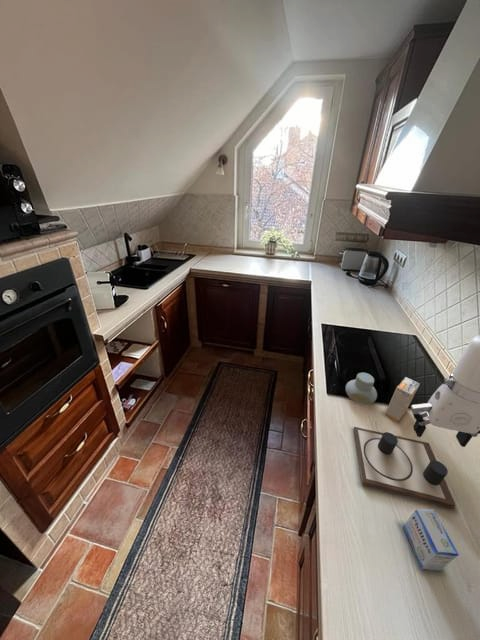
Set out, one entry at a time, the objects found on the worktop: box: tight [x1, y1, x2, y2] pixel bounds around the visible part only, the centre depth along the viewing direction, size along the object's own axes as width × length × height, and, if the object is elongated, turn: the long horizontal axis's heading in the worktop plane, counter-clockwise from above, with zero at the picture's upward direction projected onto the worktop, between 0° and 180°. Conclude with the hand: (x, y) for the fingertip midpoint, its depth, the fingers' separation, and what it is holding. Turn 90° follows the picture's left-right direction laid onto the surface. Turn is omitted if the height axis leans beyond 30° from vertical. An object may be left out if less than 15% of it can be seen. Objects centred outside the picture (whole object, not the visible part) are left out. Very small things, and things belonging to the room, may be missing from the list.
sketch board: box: [352, 426, 457, 509], centre depth 74 cm, size 22×18×2 cm
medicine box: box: [402, 508, 460, 571], centre depth 55 cm, size 8×4×9 cm, turn 178°
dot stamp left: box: [378, 431, 398, 455], centre depth 76 cm, size 4×4×5 cm
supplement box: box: [384, 376, 421, 422], centre depth 88 cm, size 8×5×13 cm, turn 131°
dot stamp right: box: [423, 459, 449, 485], centre depth 68 cm, size 4×4×5 cm
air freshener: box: [345, 372, 378, 405], centre depth 95 cm, size 11×8×10 cm
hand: (438, 437), depth 65 cm, fingers open, 9 cm apart
